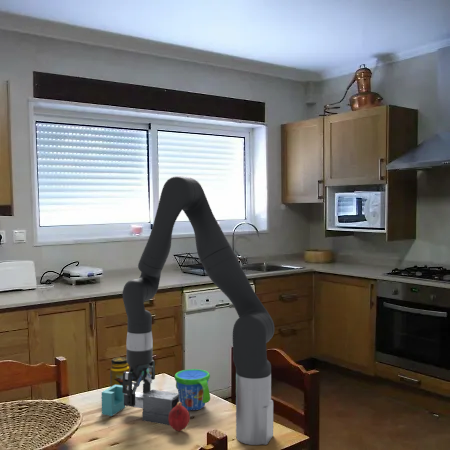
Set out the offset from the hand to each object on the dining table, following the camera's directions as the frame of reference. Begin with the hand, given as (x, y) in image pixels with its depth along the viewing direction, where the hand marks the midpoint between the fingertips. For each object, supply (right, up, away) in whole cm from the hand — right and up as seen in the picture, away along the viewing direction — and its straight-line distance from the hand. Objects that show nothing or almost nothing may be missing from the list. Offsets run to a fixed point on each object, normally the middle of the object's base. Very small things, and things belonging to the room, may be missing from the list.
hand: (139, 400), depth 148 cm
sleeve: (+7, -4, -3) cm, 8 cm away
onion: (+13, -5, -11) cm, 17 cm away
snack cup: (+15, -4, +6) cm, 17 cm away
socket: (-8, -4, +3) cm, 10 cm away
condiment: (-10, -4, +16) cm, 20 cm away
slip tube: (+3, -1, -1) cm, 3 cm away
